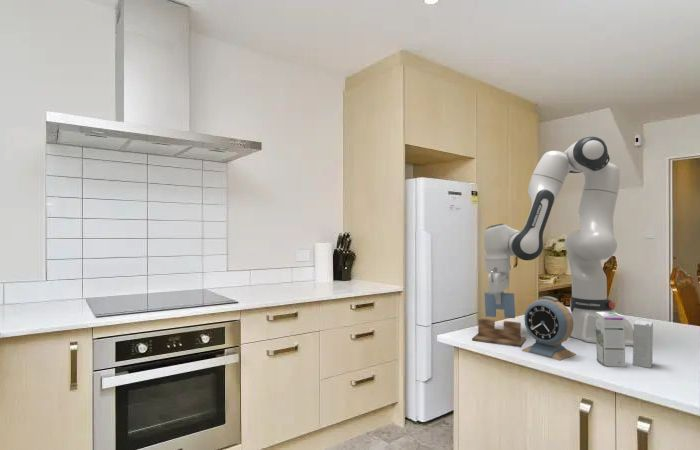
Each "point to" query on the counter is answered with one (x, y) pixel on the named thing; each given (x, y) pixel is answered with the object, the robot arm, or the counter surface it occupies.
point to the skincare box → (643, 343)
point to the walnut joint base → (499, 333)
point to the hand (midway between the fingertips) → (499, 303)
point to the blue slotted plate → (500, 305)
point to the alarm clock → (549, 328)
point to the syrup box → (610, 339)
